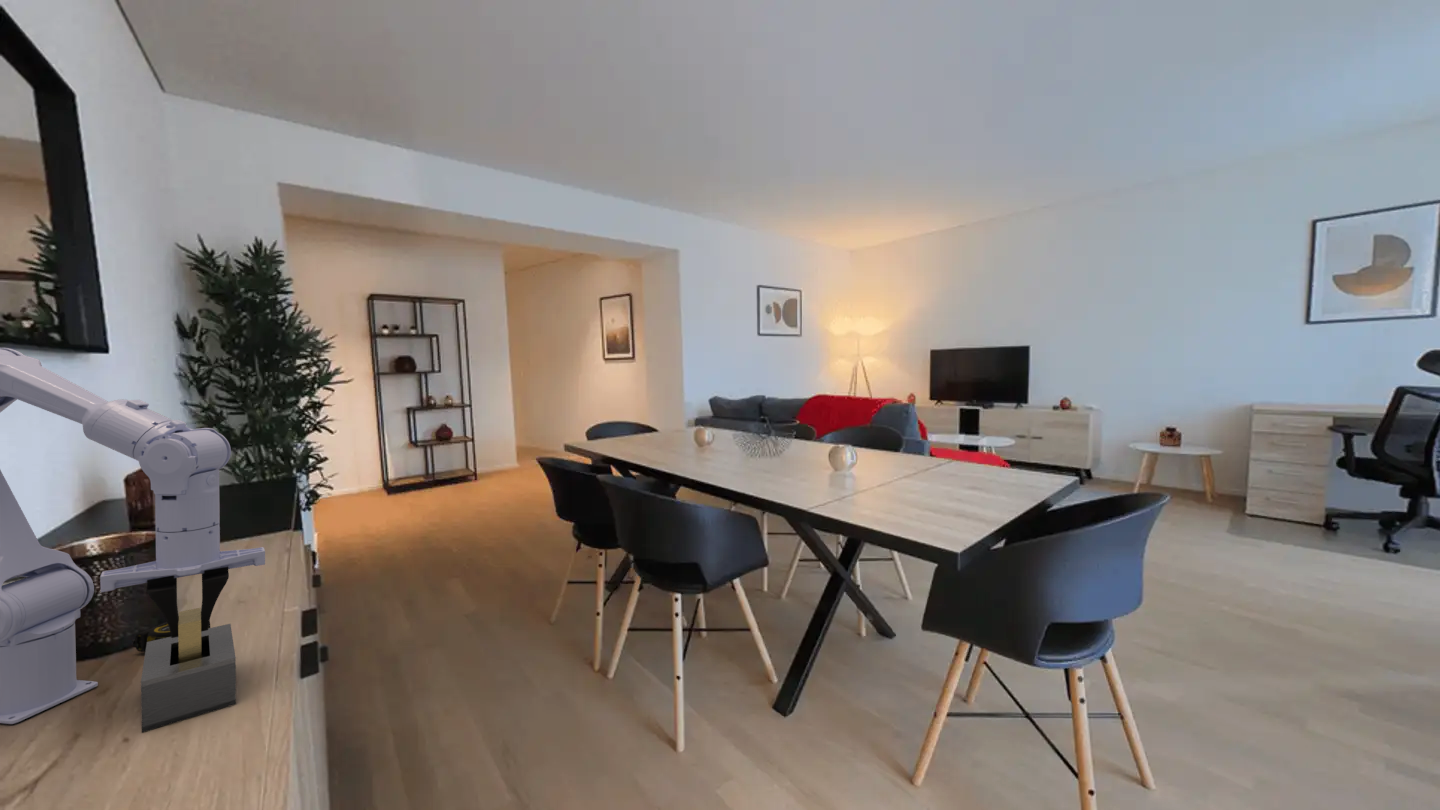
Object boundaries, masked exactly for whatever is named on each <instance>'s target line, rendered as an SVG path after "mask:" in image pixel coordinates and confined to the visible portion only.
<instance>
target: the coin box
mask: <svg viewBox="0 0 1440 810" xmlns="http://www.w3.org/2000/svg"><path fill="white" fill-rule="evenodd" d="M235 651H236V650H235V645H234V639H233V632H232V624H231V623H227V624H223V625H218V626H214V627H213V626H212V627H210V628H208V630H206V631H202V632H201V653H202V658H199V659H195V660H191V661H187V662H183V663H179V641H178V637H175V638H171V637H167V638H163V639H158V640H154V641H149V642H147V645H146V651H145V652H144V659H143V667H142V673H141V678H140V697H141V698H140V703H141V704H140V706H141V709H140V710H141V713H140V715H141V733H144V731H145V732H149V731H151V730H155V729H159V728H161V727H164V726H168V725H171V724H175V723H177V722H182V721H185V720H188V719H191V718H195V717H197V716H201V715H204V714H208V713H211V712H214V711H218V710H220V709H224V708H228V707H230V706H235V705H236V704H237V681H236V680H237V675H236V674H237V672H236V671H237V667H236V662H237V661H236V659H237V658H236V652H235ZM148 730H149V731H148Z"/></svg>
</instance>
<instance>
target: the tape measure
mask: <svg viewBox="0 0 1440 810" xmlns="http://www.w3.org/2000/svg"><path fill="white" fill-rule="evenodd" d="M208 628H211V620H210V621H209V626H208ZM167 637H171V632H170V628H169V625H168V623H167V621H166V622H163V623H160V624H157V625H155V626H152V627H151V628H148V629H145V630H142V631H141V632H140V631H139V632H138V633H137V634H136V635H135V637H134V639H131V642H132V647H134V648H135V649H136V650H137V651H138V652H139V653H145V651H146V645H147V642H149V641H154V640H158V639H163V638H167Z"/></svg>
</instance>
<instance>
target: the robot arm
mask: <svg viewBox="0 0 1440 810" xmlns="http://www.w3.org/2000/svg"><path fill="white" fill-rule="evenodd" d="M17 400H18V401H21V402H23V403H26V404H28V405H31V406H34V407H36V408H39V409H42V410H44V411H47V412H50V413H52V414H55V415H57V416H60V417H63V418H65V419H68V420H69V421H73V422H75V423H77V424H81V425H82V431H83V434H84V436H85V437H86V438H87V439H89V440H90V441H93V442H94V443H96V444H97V443H98V444H99V445H102V446H104V447H106V448H108V449H111V450H113V451H116V452H118V453H120V454H122V455H124V456H127V457H128V458H131V459H133V460H136V461H138V465H139V467H140V469H141V470H142V471H143V473H144V474H145V475H146V476H147V477H148V479H149V481H150V490H151V491H153V494H154V505H155V506H154V508H155V509H154V512H155V513H154V514H155V515H154V517H155V521H154V522H155V560H153V561H148V562H145V563H139V564H136V565H135V564H134V565H131V566H127V567H126V566H125V567H121V568H116V569H110V570H103V571H102V572H101V574H100V576H99V581H100V593H105V592H111V591H115V590H116V589H118V588H124V587H130V586H136V585H144V584H146V593H147V594H148V596H149V598H150V599H152V601H153V603H155V604H156V607H158V609H159V610H160V612H161V613H162V614H163V617H164V618H165V620H166V622H167V623H168V625H169V628H170V632H171V638H175V637H178V622H179V610H178V579H179V578H183V577H188V576H195V575H197V576H198V575H201V607H200V608H201V632H202V631H206V630H208V626H209V621H210V622H211V617H212V614H213V613H212V612H213V610H214V608H215V605H216V603H217V601H218V598H219V596H220V595H221V592H222V591H223V589H224V587H225V586H226V584H227V582H228V580H229V577H230V576H229V575H230V573H229V570H232V569H237V568H243V567H249V566H255V567H258V566H264V565H266V550H265V547H263V546H261V547H255V548H245V549H243V548H242V549H232V550H221V535H220V533H221V531H220V530H221V527H220V520H221V519H220V518H221V517H220V514H221V513H220V512H221V511H220V509H221V507H220V506H221V505H220V469H222V468H224V467H225V466H226V465H227V463H228V462H229V460H230V458H231V456H232V448H231V445H230V442H229V440H228V439H227V438H226V437H225V436H224V435H223V434H222V433H220V432H218V431H217V430H216V429H215V428H212V427H202V428H196V429H195V428H194V429H193V428H191V427H189V426H187V423H186V422H185V421H183V420H180V419H171V418H170V417H167V416H165V415H163V414H160V413H158V412H155V411H154V410H152V409H149V408H148V407H149V406H150V404H149V403H148V402H146V401H143V400H141V399H126V398H125V399H124V398H123V399H122V398H121V399H120V398H119V399H114V400H111V401H108V400H106V399H104V398H102V397H100V396H98V395H96V394H95V393H93V392H91V391H89V390H87V389H85V388H84V387H81V386H79V385H77V384H76V383H73V382H72V381H70V380H68V379H66V378H63V377H62V376H61V375H58V374H57V373H55V372H53V371H51V370H49V369H47V368H46V367H43V365H42V363H41V361H40V359H38V358H36V357H32V356H28V355H25V354H23V353H22V352H21V351H18V350H15V349H13V348H8V347H0V413H1V412H3V411H4V410H6V409H7V408H8V407H10V405H12V404H13V403H14V402H16V401H17ZM9 485H10V484H8V481H7V480H6V478H5V476H4V474H3V472H2V470H1V469H0V724H5V725H7V724H8V725H13V724H14V725H15V724H17V723H19V722H22V721H24V720H25V719H28V718H30V717H33V716H35V715H37V714H39V713H42V712H43V711H45V710H48V709H50V708H53V707H54V706H57V705H59V704H60V703H63V702H65V701H68V700H70V699H72V698H74V697H76V696H79V695H81V694H83V693H85V692H87V691H90V690H92V689H94V688H96V687H97V686H99V682H98V681H92V680H82V679H77V653H76V652H77V651H76V649H77V648H76V646H77V645H76V620H77V619H79V618H81V609H83V608H85V607H86V606H87V605H88V604H89V603H90V602H91V600H92V599H93V597H94V592H95V586H94V585H95V584H94V583H93V582H94V581H93V579H92V577H91V576H90V575H89V574H88V572H86V571H85V570H84V569H82V568H81V567H79V566H78V565H77V564H76V563H75V562H74V561H73V559H72V557H71V555H70V554H69V553H68V552H65V551H61V550H57V549H53V548H50V547H46V546H42V545H41V544H40V542H39V540H38V538H37V535H35V532H34V531H33V529H32V527H31V525H30V523H29V521H28V519H27V517H26V516H25V515H26V514H25V513H24V512H23V510H22V508H21V506H20V505H19V502H18V500H17V499H16V496H15V495H14V492H13V491H12V489H11V487H10V486H9ZM19 577H21V579H19V580H15V581H12V582H8V583H6V584H4V583H5V582H6V581H8V580H12V579H15V578H19ZM22 577H24V578H22ZM177 578H178V579H177Z"/></svg>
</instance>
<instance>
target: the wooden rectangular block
mask: <svg viewBox="0 0 1440 810" xmlns="http://www.w3.org/2000/svg"><path fill="white" fill-rule="evenodd" d="M178 615H179V622H178V641H179V663H183V662H187V661H191V660H195V659H199V658H202V653H201V607H197V608H191V609H185V610H182V611H181V610H180V611H178Z"/></svg>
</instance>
